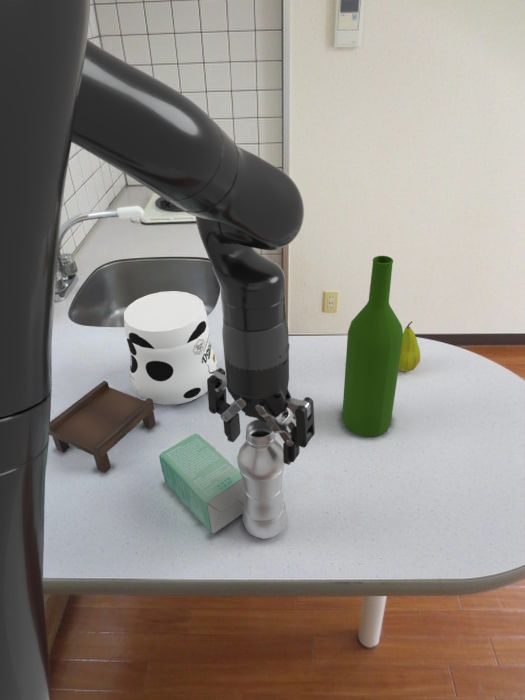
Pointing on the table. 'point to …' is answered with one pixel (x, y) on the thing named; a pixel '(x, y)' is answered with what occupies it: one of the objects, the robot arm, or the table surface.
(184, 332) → the milk container
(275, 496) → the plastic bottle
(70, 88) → the robot arm
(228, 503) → the box
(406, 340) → the fruit
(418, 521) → the table surface
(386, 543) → the table surface
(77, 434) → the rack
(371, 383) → the wine bottle
